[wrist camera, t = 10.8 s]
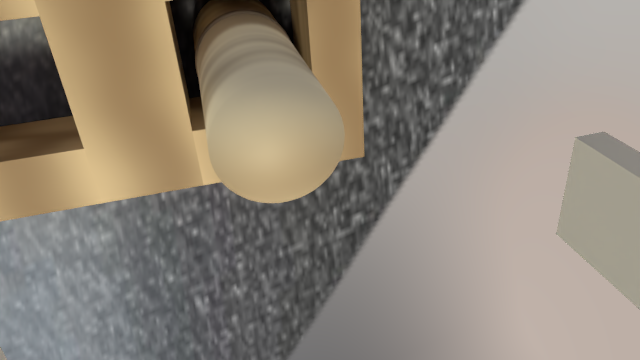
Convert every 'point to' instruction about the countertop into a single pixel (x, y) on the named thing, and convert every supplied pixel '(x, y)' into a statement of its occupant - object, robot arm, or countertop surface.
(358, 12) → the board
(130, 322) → the countertop surface
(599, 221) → the robot arm
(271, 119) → the peg
